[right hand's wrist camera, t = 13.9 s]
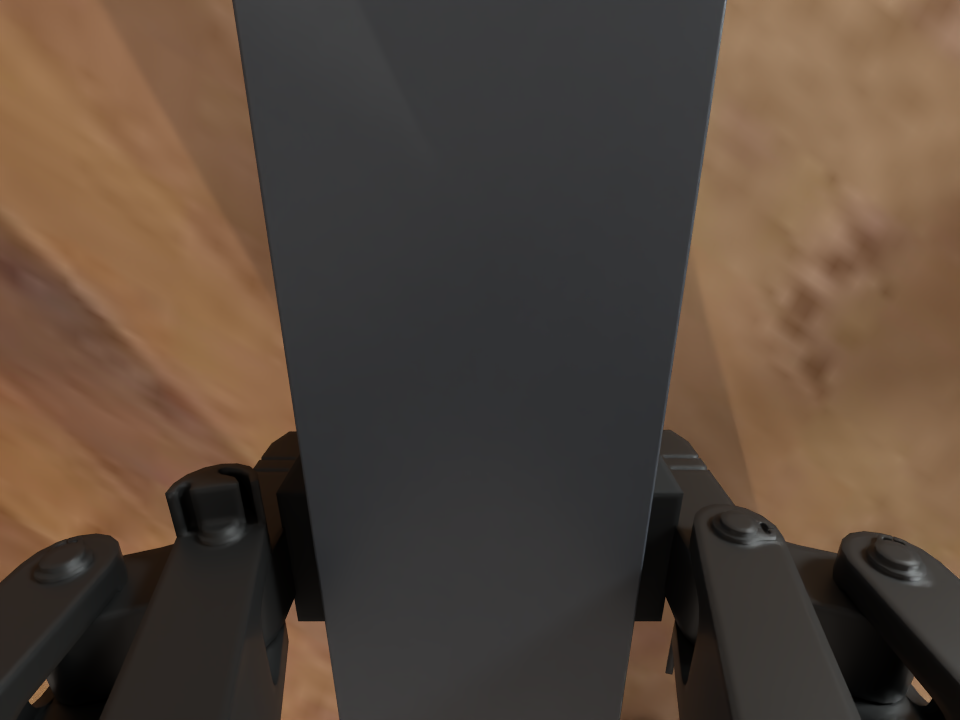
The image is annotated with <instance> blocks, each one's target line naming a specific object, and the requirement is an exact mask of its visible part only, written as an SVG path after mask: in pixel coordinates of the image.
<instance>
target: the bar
mask: <svg viewBox="0 0 960 720" xmlns="http://www.w3.org/2000/svg"><path fill="white" fill-rule="evenodd" d="M232 1H233V8H234V15H235V21H236V28H237V35H238V41H239V48H240V55H241V61H242V68H243V75H244V82H245V88H246V95H247V102H248V108H249V115H250V122H251V129H252V135H253V142H254V149H255V155H256V162H257V169H258V176H259V182H260V189H261V196H262V202H263V209H264V216H265V222H266V229H267V236H268V243H269V249H270V256H271V263H272V269H273V276H274V283H275V290H276V296H277V303H278V310H279V316H280V323H281V330H282V336H283V343H284V350H285V357H286V363H287V370H288V377H289V383H290V390H291V397H292V404H293V410H294V417H295V424H296V430H297V437H298V444H299V450H300V457H301V464H302V471H303V477H304V484H305V491H306V497H307V504H308V511H309V518H310V524H311V531H312V538H313V544H314V551H315V558H316V565H317V571H318V578H319V585H320V591H321V598H322V605H323V611H324V618H325V625H326V632H327V638H328V645H329V652H330V658H331V665H332V672H333V679H334V685H335V692H336V699H337V705H338V712H339V719H340V720H620V715H621V708H622V701H623V694H624V688H625V681H626V674H627V668H628V661H629V654H630V647H631V641H632V634H633V627H634V621H635V614H636V607H637V600H638V594H639V587H640V580H641V573H642V567H643V560H644V553H645V547H646V540H647V533H648V526H649V520H650V513H651V506H652V500H653V493H654V486H655V479H656V473H657V466H658V459H659V452H660V446H661V439H662V432H663V426H664V419H665V412H666V405H667V399H668V392H669V385H670V379H671V372H672V365H673V358H674V352H675V345H676V338H677V331H678V325H679V318H680V311H681V305H682V298H683V291H684V284H685V278H686V271H687V264H688V258H689V251H690V244H691V237H692V231H693V224H694V217H695V210H696V204H697V197H698V190H699V184H700V177H701V170H702V163H703V157H704V150H705V143H706V137H707V130H708V123H709V116H710V110H711V103H712V96H713V89H714V83H715V76H716V69H717V63H718V56H719V49H720V42H721V36H722V29H723V22H724V16H725V9H726V2H727V0H232Z"/></svg>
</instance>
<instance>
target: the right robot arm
mask: <svg viewBox="0 0 960 720" xmlns="http://www.w3.org/2000/svg"><path fill="white" fill-rule="evenodd" d="M165 495H166V499H167V502H168V506H169V510H170V513H171V517H172V521H173V525H174V528H175V532H176V536H177V538H176V541H175V543H174V544H172V545H168V546H165V547H161V548H156V549H152V550H147V551H142V552H138V553H133V554H128V555H124V556H123V555H122V552H121V549H120V546H119V543H118V541H116V540H115V539H114V538H113V537H111V536H110V535H103V534H89V535H81V536H76V537H72V538H69V539H65V540H62V541H59V542H57V543H55V544H53V545H51V546H49V547H47V548H45V549H43V550H41V551H39V552H37V553H36V554H34V555H33V556H32V557H30V558H29V559H27V560H26V561H25V562H23V563H22V564H20V565H19V566H18V567H17V568H16V569H15V570H14V571H13V572H12V573H10V574H9V575H8V576H7V577H6V578H5V579H4V580H3V581H2V582H0V720H280V719H281V710H282V700H283V691H284V681H285V671H286V662H287V652H288V643H289V641H288V634H287V628H286V623H285V619H286V617H287V614H288V612H289V610H290V607H291V605H292V602H293V600H294V599H295V605H296V611H297V616H298V621H325V618H324V611H323V605H322V598H321V591H320V585H319V578H318V571H317V565H316V558H315V551H314V544H313V538H312V531H311V524H310V518H309V511H308V504H307V497H306V491H305V484H304V477H303V471H302V464H301V457H300V450H299V444H298V437H297V432H288V433H287V434H285V435H284V436H282V437H281V438H279V439H278V440H276V441H275V442H273V443H272V444H271V445H270V446H269V448H268V449H267V451H266V452H265V453H264V455H263V456H262V459H261V460H259V462H258V463H257V464H256V466H255V467H254V468H251V467H250V466H246V465H242V464H237V463H236V464H219V465H214V466H210V467H205V468H202V469H200V470H197V471H195V472H192V473H190V474H187V475H186V476H184V477H183V478H181V479H180V480H178V481H177V482H175V483H174V484H173V485H172V486H171V487H170V488H169V489H168V491H167V492H166V493H165ZM665 597H666V598H667V601H668V603H669V605H670V608H671V610H672V613H673V615H674V617H675V623H674V628H673V633H672V639H671V644H670V649H669V655H668V660H667V666H666V673H668V674H672V673H673V668H674V670H675V680H676V689H677V699H678V708H679V718H680V720H960V579H958V578H957V577H956V576H955V575H954V574H953V573H952V572H951V571H949V570H948V569H947V568H946V567H945V566H944V565H943V564H942V563H941V562H939V561H938V560H936V559H935V558H934V557H932V556H931V555H929V554H928V553H927V552H925V551H924V550H922V549H920V548H918V547H916V546H914V545H912V544H910V543H908V542H906V541H905V540H902V539H899V538H897V537H892V536H890V535H886V534H882V533H874V532H866V531H862V532H855V533H850V534H848V535H847V536H846V537H845V538H843V539H842V542H841V545H840V548H839V551H838V554H837V553H833V552H828V551H823V550H819V549H814V548H809V547H804V546H800V545H796V544H792V543H789V542H785V540H784V537H783V536H782V534H781V533H780V532H779V530H778V529H777V527H776V526H775V525H774V524H772V523H771V522H770V521H768V520H767V519H766V518H764V517H763V516H761V515H759V514H757V513H755V512H753V511H750V510H748V509H746V508H742V507H738V506H735V505H734V504H733V502H732V501H731V499H730V498H729V497H728V495H727V494H726V493H725V491H724V490H723V489H722V487H721V486H720V484H719V483H718V482H717V480H716V479H715V478H714V476H713V475H712V473H711V472H710V471H709V470H707V467H706V465H705V464H704V463H703V461H702V460H701V458H698V454H697V453H696V452H695V450H694V449H693V448H692V446H691V445H690V443H689V442H688V441H686V440H685V439H683V438H682V437H680V436H679V435H677V434H676V433H674V432H673V431H671V430H663V432H662V439H661V446H660V452H659V459H658V466H657V473H656V479H655V486H654V493H653V500H652V506H651V513H650V520H649V526H648V533H647V540H646V547H645V553H644V560H643V567H642V573H641V580H640V587H639V594H638V600H637V607H636V614H635V621H661V620H662V614H663V609H664V603H665ZM914 676H915V678H916V679H917V680H918V681H919V683H920V684H921V685H922V686H923V687H924V689H925V690H926V691H927V692H928V693H929V695H930V696H931V697H932V700H931V701H930V703H928V702H927V701H926V700H925V699H924V698H923V697H922V696H920V695H919V693H918V692H917V691H916V690H915V688H914V687H913V686H912V685H911V682H912V680H913V678H914ZM46 679H47V681H48V683H49V685H50V686H49V687H48V688H47V690H46V691H45V692H44V693H43V695H42V696H41V697H40V698H39V699H38V700H37V701H36V702H34V703H33V704H32V705H31V704H30V703H29V699H30V698H31V697H32V696H33V694H34V693H35V692H36V691H37V690H38V688H39V687H40V686H41V685H42V683H43V682H44V681H45V680H46Z"/></svg>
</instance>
